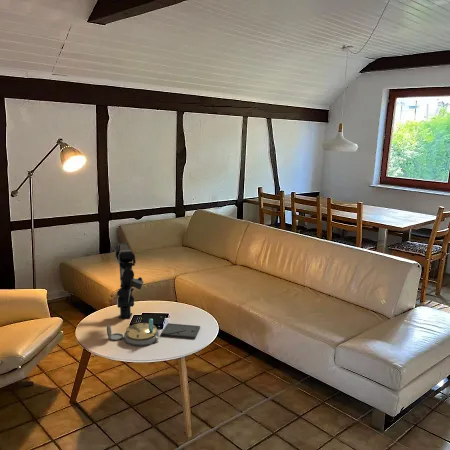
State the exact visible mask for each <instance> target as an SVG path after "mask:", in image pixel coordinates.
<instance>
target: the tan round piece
mask: <svg viewBox="0 0 450 450" xmlns="http://www.w3.org/2000/svg"><path fill="white" fill-rule="evenodd" d="M157 331H158V329H157V326H156V325H154V318H151V317H150V318H148V323H147V322H140V323H134V324H132V325H131V324H130V325H129V326H128V327H126V329H125V332H126V336H127V338H129V339H131V340H136V341H143V340H148V339H151V338H153V337H155V336H156V334H157Z"/></svg>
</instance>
